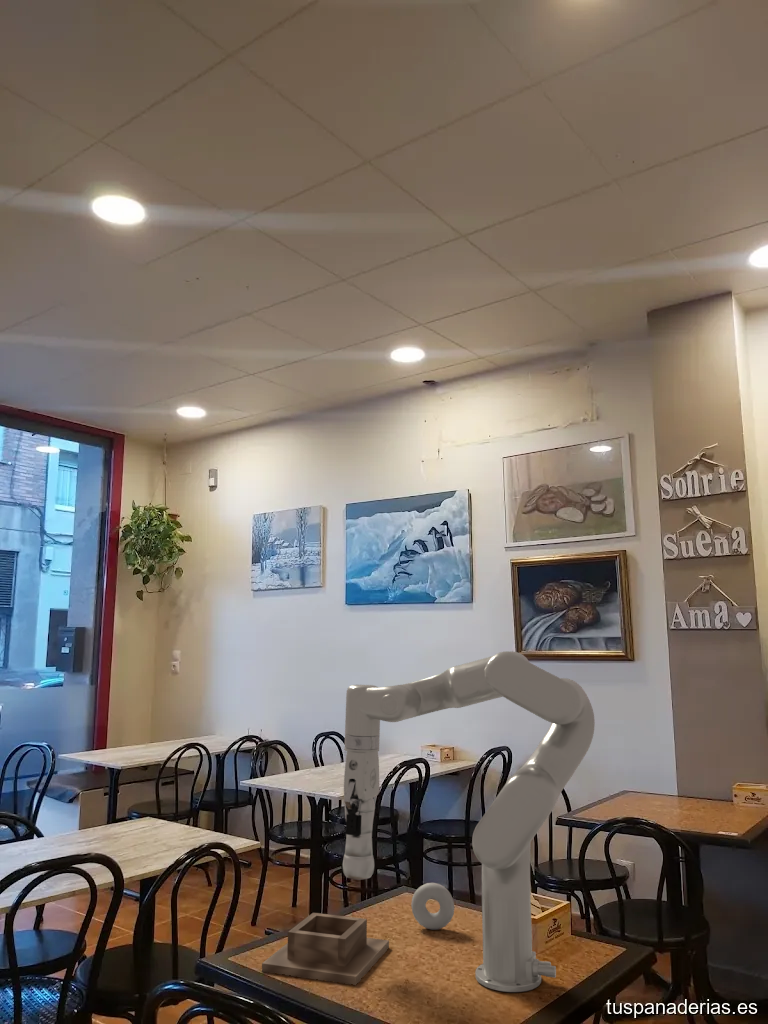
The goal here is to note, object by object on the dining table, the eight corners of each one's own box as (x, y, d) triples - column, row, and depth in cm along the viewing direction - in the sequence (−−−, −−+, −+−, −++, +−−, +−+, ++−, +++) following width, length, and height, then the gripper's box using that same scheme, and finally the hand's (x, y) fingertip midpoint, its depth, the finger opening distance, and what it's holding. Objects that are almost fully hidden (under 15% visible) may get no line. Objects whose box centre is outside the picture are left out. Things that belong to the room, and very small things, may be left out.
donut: (410, 930, 176) (410, 883, 177) (412, 925, 179) (412, 879, 181) (454, 933, 174) (453, 886, 176) (455, 928, 177) (454, 881, 179)
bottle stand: (388, 947, 165) (388, 915, 166) (356, 985, 147) (356, 948, 148) (303, 937, 171) (304, 905, 173) (261, 971, 153) (262, 936, 154)
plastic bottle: (370, 884, 158) (373, 782, 161) (338, 881, 159) (341, 780, 163) (377, 875, 164) (379, 777, 167) (346, 872, 165) (349, 775, 169)
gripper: (364, 749, 157) (361, 842, 154) (391, 740, 173) (389, 824, 170) (330, 746, 160) (326, 838, 156) (360, 738, 176) (357, 821, 172)
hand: (359, 830), depth 163 cm, fingers closed on plastic bottle, 6 cm apart
